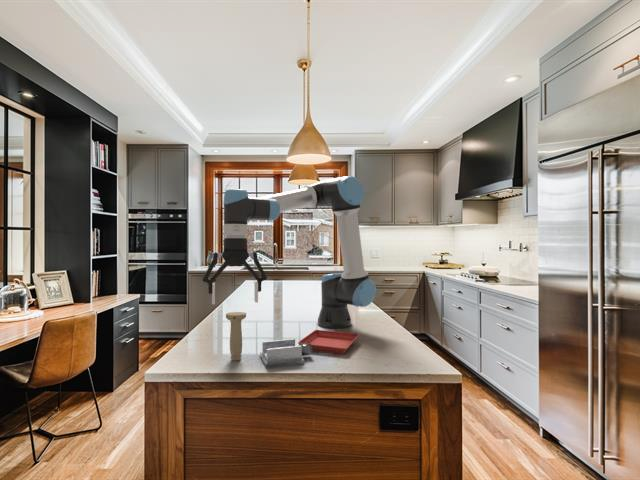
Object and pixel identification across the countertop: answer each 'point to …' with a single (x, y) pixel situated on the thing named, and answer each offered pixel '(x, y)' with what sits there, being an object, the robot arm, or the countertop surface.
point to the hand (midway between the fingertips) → (235, 302)
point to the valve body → (283, 353)
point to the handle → (236, 334)
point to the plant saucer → (329, 341)
